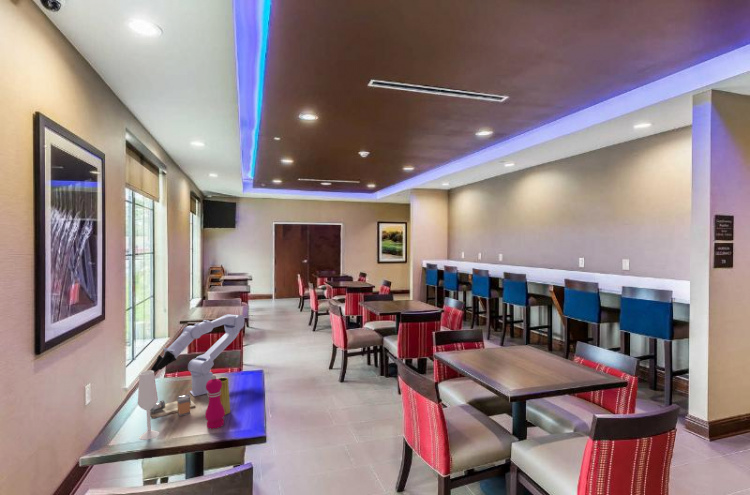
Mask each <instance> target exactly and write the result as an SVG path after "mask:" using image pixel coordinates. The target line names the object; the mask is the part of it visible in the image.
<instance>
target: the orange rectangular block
mask: <svg viewBox="0 0 750 495" xmlns="http://www.w3.org/2000/svg"><path fill="white" fill-rule="evenodd" d="M190 400H191V398H190V399H189V398H188V397H185V398H181V399H176V401H177V406H178V412H177V414H178V416H179V417H182V416H186V415H190V414H191V409H190Z"/></svg>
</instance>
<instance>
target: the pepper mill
mask: <svg viewBox="0 0 750 495" xmlns="http://www.w3.org/2000/svg"><path fill="white" fill-rule="evenodd" d="M221 388H222V382H221V380H219V379H218V378H217V376H216V375H215V374H213V376H212V377H211V380H209V381H208V382H207V383H206V390H207V391H208V393H207V397H208V404H207V407H206V410H205V413H204V414H205V415H204V416H205V420H207V422H206V427H207V429H210V428H211V429H212V430H214V429H213V428H215V429H219V428H221V427H223V426H224V425H225V419H224V417H225V416H226V415H225V410H224V408H223V406H222V404H221V401H220V395H221V390H220V389H221Z"/></svg>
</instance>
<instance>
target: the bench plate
mask: <svg viewBox="0 0 750 495" xmlns="http://www.w3.org/2000/svg"><path fill="white" fill-rule="evenodd" d="M194 408H196V404H195V403H194V402H193V401H192V400H191V403H190V410H191V409H194ZM175 413H178V406H177V400H175V401H171V402H168V403H165V409H163V412H160V413H157V414H152V413H150V418H151V419H155V418H158V417H159V418H160V417H164V416H167V415H171V414H175Z"/></svg>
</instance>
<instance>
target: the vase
mask: <svg viewBox="0 0 750 495" xmlns="http://www.w3.org/2000/svg"><path fill="white" fill-rule="evenodd" d="M217 379H219V380H221V382H222V388H221V389H220V390H221V395H220V401H221V404H222V406H223V408H224V410H225V415H224V416H227V415H230V413H231V402H230V399H231V398H230V387H229V386H230V385H229V378H228V377H217Z"/></svg>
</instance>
